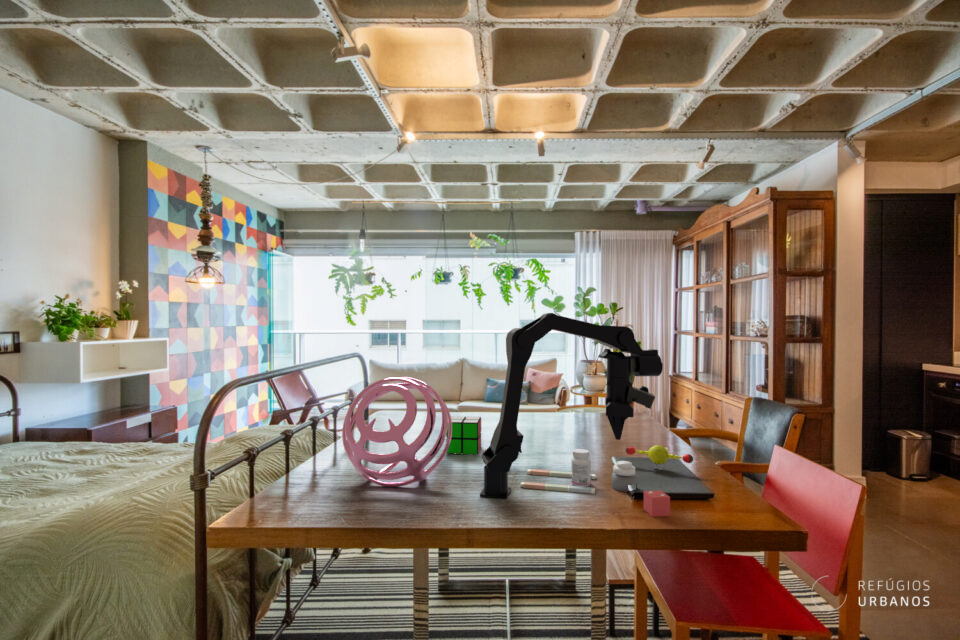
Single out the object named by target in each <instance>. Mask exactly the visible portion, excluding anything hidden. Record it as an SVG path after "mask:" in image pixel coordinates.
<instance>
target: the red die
mask: <svg viewBox="0 0 960 640" xmlns="http://www.w3.org/2000/svg"><path fill="white" fill-rule="evenodd" d="M643 510H644V511H645V512H646V513H647V514H648V515H650V516H651V518H654V517H671V496H669V495H668V494H666V493H665V492H664V491H663V490H643Z"/></svg>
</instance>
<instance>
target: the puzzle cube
mask: <svg viewBox="0 0 960 640" xmlns="http://www.w3.org/2000/svg"><path fill="white" fill-rule="evenodd" d="M451 420H452V438H451V443H450V446H449V449H448V451H447V453H456V454H455V455H464V454H478V455H479V453H480V451H481V448H482V417H481V416H459V415H457V416H456V415H455V416H451ZM448 433H449V423H448V428H447V433H446V437H445V440H446V442H447V439H448ZM446 442H445V443H446ZM447 453H446V454H447ZM461 453H463V454H461Z"/></svg>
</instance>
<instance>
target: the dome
mask: <svg viewBox="0 0 960 640" xmlns="http://www.w3.org/2000/svg"><path fill="white" fill-rule="evenodd" d="M612 471H613V472H612V473H615V474H618V475H623V476H632V475H636V467H635V466H634V465H633V463H632V462H631V461H627V460H618V461H616V464H614V465H613V469H612Z"/></svg>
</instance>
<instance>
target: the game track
mask: <svg viewBox="0 0 960 640" xmlns="http://www.w3.org/2000/svg"><path fill="white" fill-rule="evenodd" d="M526 470H527V471H526V474H527V475H531V474H532V475H534V476H545V477H547V476H548V477H559V478H561V477H562V478H571V479H572V471H563V470H560V471H559V470H548V469H535V468H532V469H531V468H530V469H529V468H528V469H526ZM596 476H597V475H596V474H594V473H591V480H596ZM636 483H637V484H638V475H636V474H635V475H632V476H623V475H618V474H615V473H614V472H612V473H611V489H614V490H616V491H620V492H625V493H629V492H628V485H632V484H636ZM519 487H520V488H522V487H523V489H534V490H535V489H536V490H547V491H558V492H569V493H583V494H593V495H595V494H596V488H595V487H591V486H587V487H582V486H575V485H567V484H554V483H541V482H530V481H524V482H523V481H521V482H520V486H519Z"/></svg>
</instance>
